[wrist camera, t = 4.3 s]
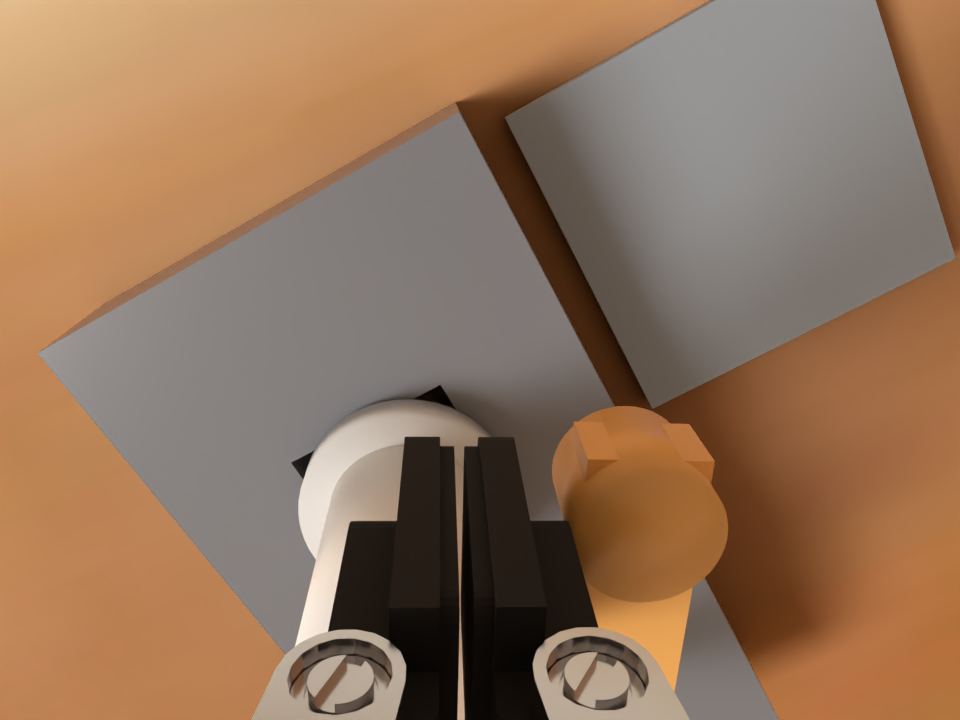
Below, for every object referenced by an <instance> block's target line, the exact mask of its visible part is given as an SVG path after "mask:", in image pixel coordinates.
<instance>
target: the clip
mask: <svg viewBox="0 0 960 720" xmlns="http://www.w3.org/2000/svg"><path fill="white" fill-rule="evenodd" d="M714 464H715V461H714V459H713V458H712V456H711V455H710V454H709V452H708V451H707V449H706V448H705V446H704V445H703V443H702V442H701V440H700V439H699V437H698V436H697V434H696V433H695V432H694V430H693V429H692V427H691V426H690V424H670V423H669V422H668V421H667V420H666V419H665V418H663V417H662V416H660V415H659V414H657V413H655V412H653V411H650V410H647V409H644V408H640V407H634V406H616V407H610V408H606V409H602V410H599V411H597V412H594V413H592V414H590V415H588V416H586V417H584V418H583V419H581V420H580V421H579V422H574V425H573V427H572V428H571V429H569V431H568V432H567V433H566V434H565V435H564V437H563V438H562V440H561V441H560V443H559V445H558V447H557V449H556V452H555V455H554V458H553V464H552V478H553V484H554V487H555V491H556V495H557V498H558V502H559V506H560V509H561V513H562V517H563V521H568V522H569V525H570V527H571V530H572V534H573V538H574V541H575V545H576V548H577V552H578V556H579V559H580V563H581V566H582V570H583V574H584V577H585V581H586V584H587V588H588V591H589V595H590V599H591V602H592V606H593V609H594V613H595V617H596V620H597V624H598V627H599V628H602V629H606V630H611V631H615V632H618V633H620V634H622V635H625V636H627V637H629V638H632V639H633V640H635V641H636V642H637V643H639V644H640V645H641V646H643V647H644V648H646V649H647V650H648V651H649V653H650V654H651V655H652V656H653V658H654V659H655V660H656V661H657V663H658V664H659V666H660V668H661V669H662V671H663V673H664V675H665V677H666V678H667V680H668V682H669V684H670V685H671V687H672V689H673V691H675V686H676V680H677V674H678V669H679V663H680V657H681V652H682V646H683V640H684V635H685V629H686V623H687V618H688V612H689V606H690V601H691V595H692V589H693V587H694V586H695V585H697V584H698V583H699V582H700V581H702V580H703V579H704V578H705V577H706V576H707V575H708V574H709V573H710V572H711V571H712V569H713V568H714V567H715V565H716V564H717V563H718V561H719V559H720V557H721V556H722V553H723V551H724V549H725V545H726V542H727V537H728V519H727V514H726V511H725V508H724V505H723V503H722V502H721V500H720V498H719V496H718V495H717V493H716V492H715V490H714V488H713V487H712V485H711V481H712V476H713V470H714Z"/></svg>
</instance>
